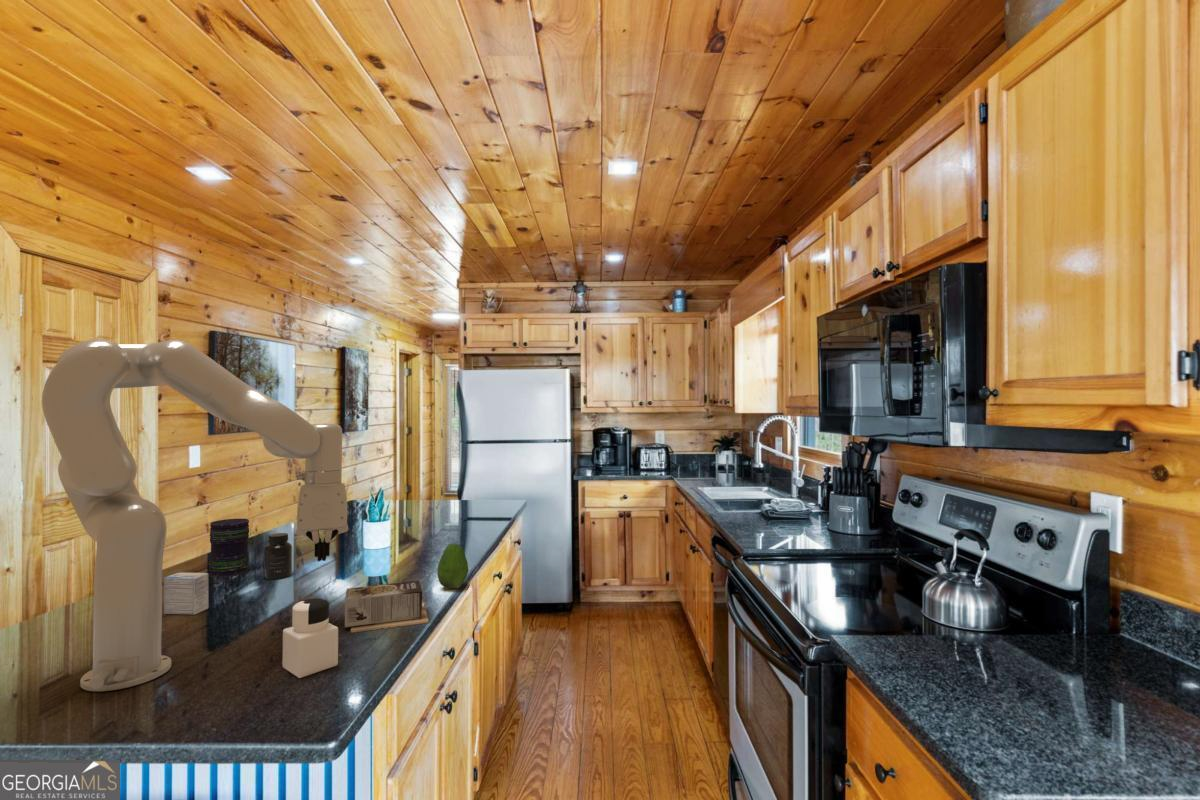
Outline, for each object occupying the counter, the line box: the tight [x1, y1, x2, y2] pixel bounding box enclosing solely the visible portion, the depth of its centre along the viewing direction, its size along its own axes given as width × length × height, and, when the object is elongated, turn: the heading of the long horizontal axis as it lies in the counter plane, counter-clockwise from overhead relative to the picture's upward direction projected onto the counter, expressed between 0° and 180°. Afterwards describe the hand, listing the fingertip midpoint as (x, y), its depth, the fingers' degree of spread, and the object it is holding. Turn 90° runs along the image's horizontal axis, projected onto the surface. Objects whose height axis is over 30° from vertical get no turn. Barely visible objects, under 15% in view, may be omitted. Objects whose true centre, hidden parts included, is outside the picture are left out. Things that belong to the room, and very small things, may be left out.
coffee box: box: [344, 580, 423, 628], centre depth 132 cm, size 9×6×16 cm
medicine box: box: [163, 572, 209, 615], centre depth 137 cm, size 8×4×9 cm, turn 84°
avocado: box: [436, 542, 469, 590], centre depth 155 cm, size 8×8×12 cm
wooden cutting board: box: [350, 598, 429, 633], centre depth 136 cm, size 20×16×1 cm
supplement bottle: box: [264, 532, 293, 580], centre depth 166 cm, size 7×7×12 cm
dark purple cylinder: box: [208, 518, 250, 578], centre depth 170 cm, size 10×10×15 cm
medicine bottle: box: [282, 597, 339, 679], centre depth 107 cm, size 7×7×12 cm
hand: (321, 559), depth 131 cm, fingers closed
